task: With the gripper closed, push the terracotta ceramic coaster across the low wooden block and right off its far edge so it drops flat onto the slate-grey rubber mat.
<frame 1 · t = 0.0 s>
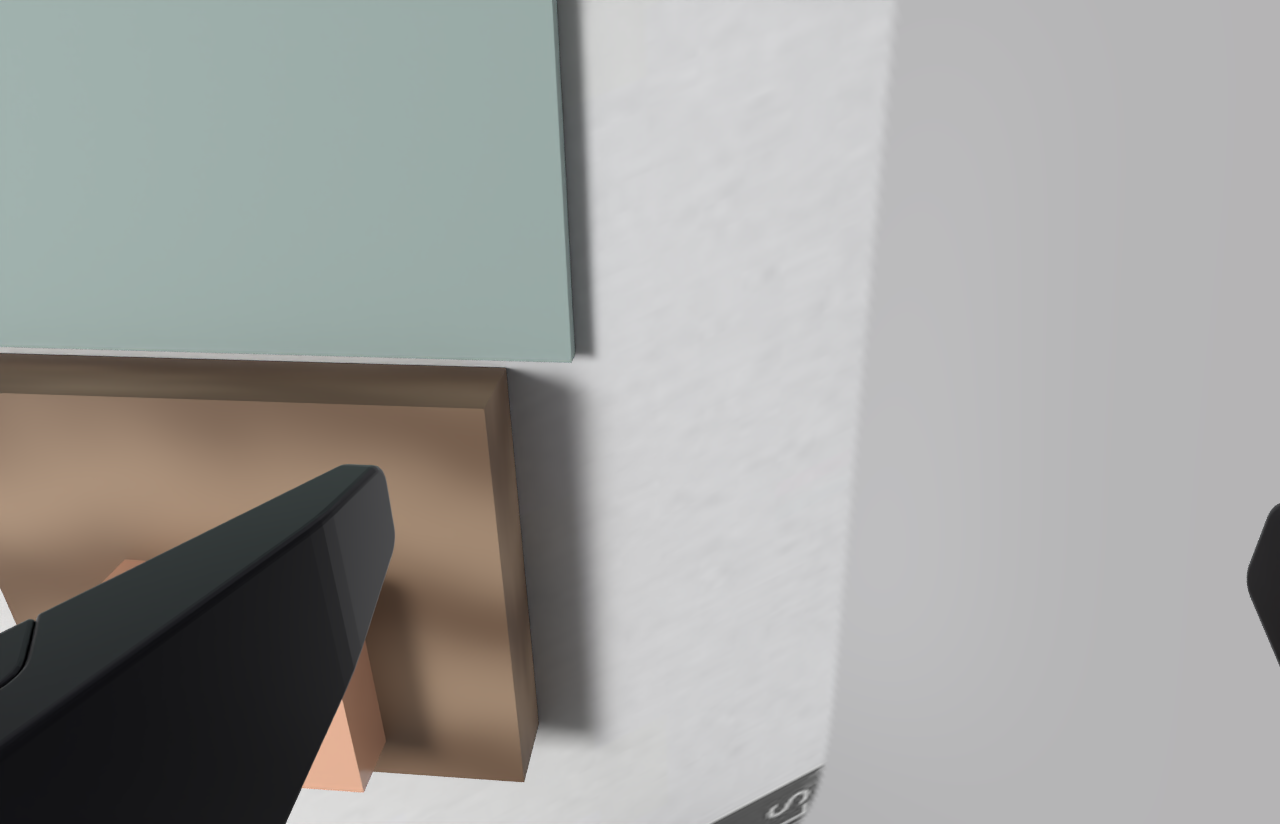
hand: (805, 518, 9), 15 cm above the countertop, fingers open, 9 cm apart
coaster: (261, 654, 28), point 2 cm above the countertop, touching wooden block
wooden block: (284, 554, 29), on the countertop
mat: (158, 46, 22), on the countertop
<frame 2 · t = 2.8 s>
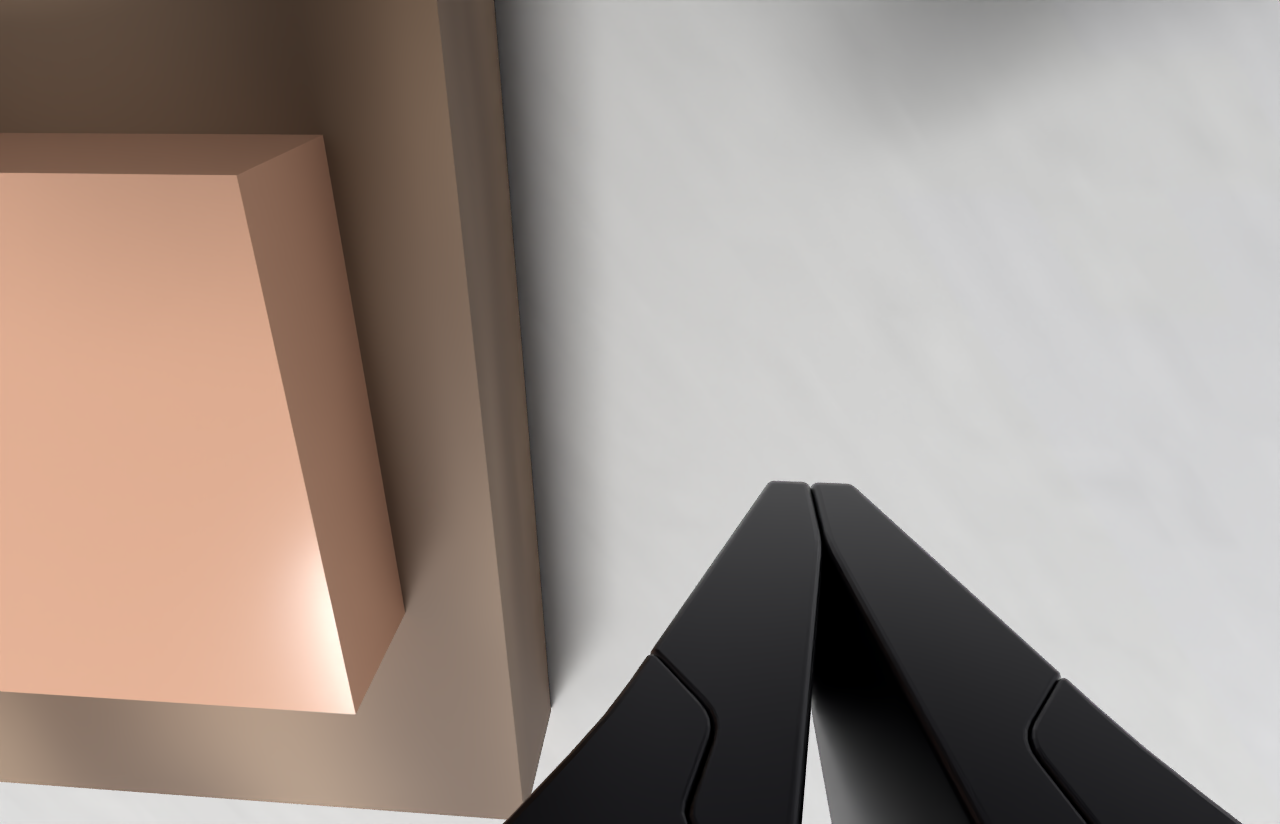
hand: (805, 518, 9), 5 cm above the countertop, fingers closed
coaster: (120, 398, 12), point 2 cm above the countertop, touching wooden block
wooden block: (97, 325, 14), on the countertop
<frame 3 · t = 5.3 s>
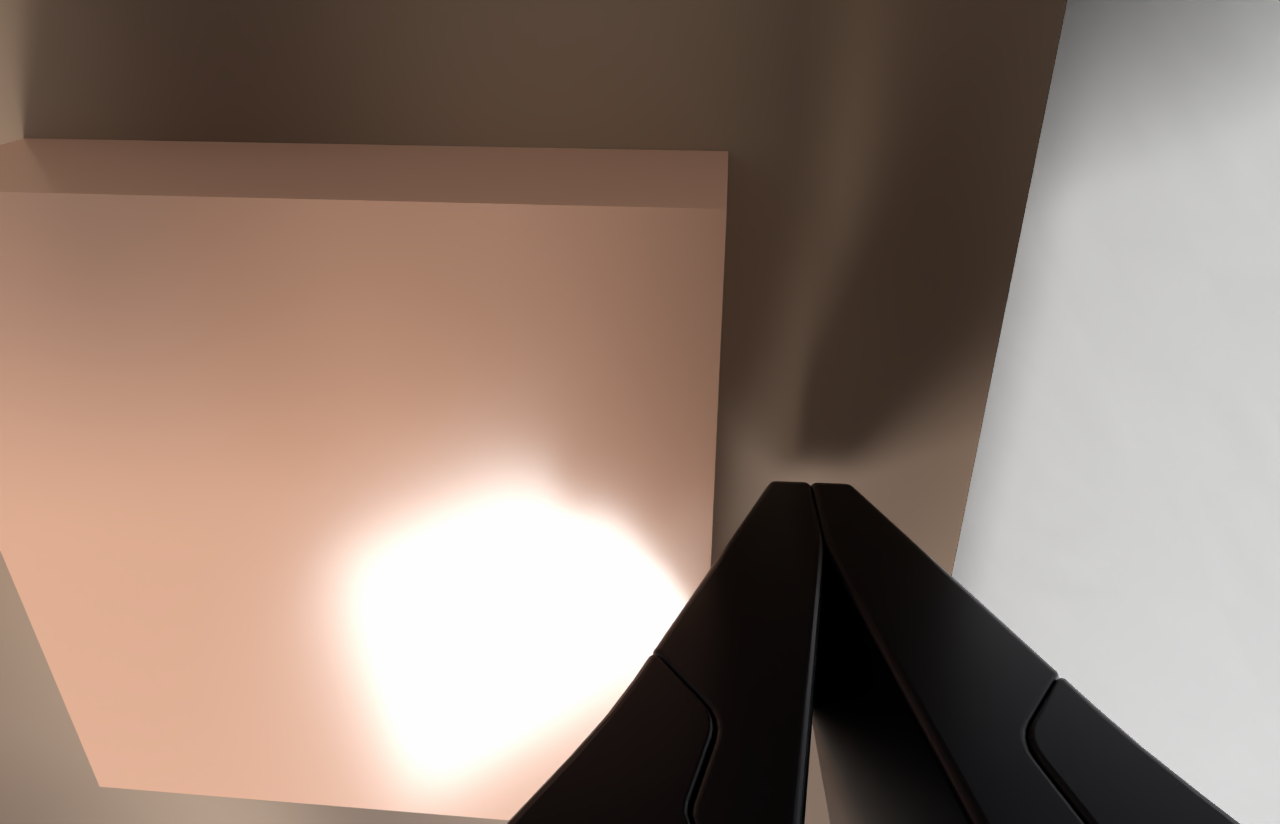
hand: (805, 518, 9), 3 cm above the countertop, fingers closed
coaster: (408, 456, 10), point 3 cm above the countertop, touching gripper
wooden block: (416, 360, 12), on the countertop
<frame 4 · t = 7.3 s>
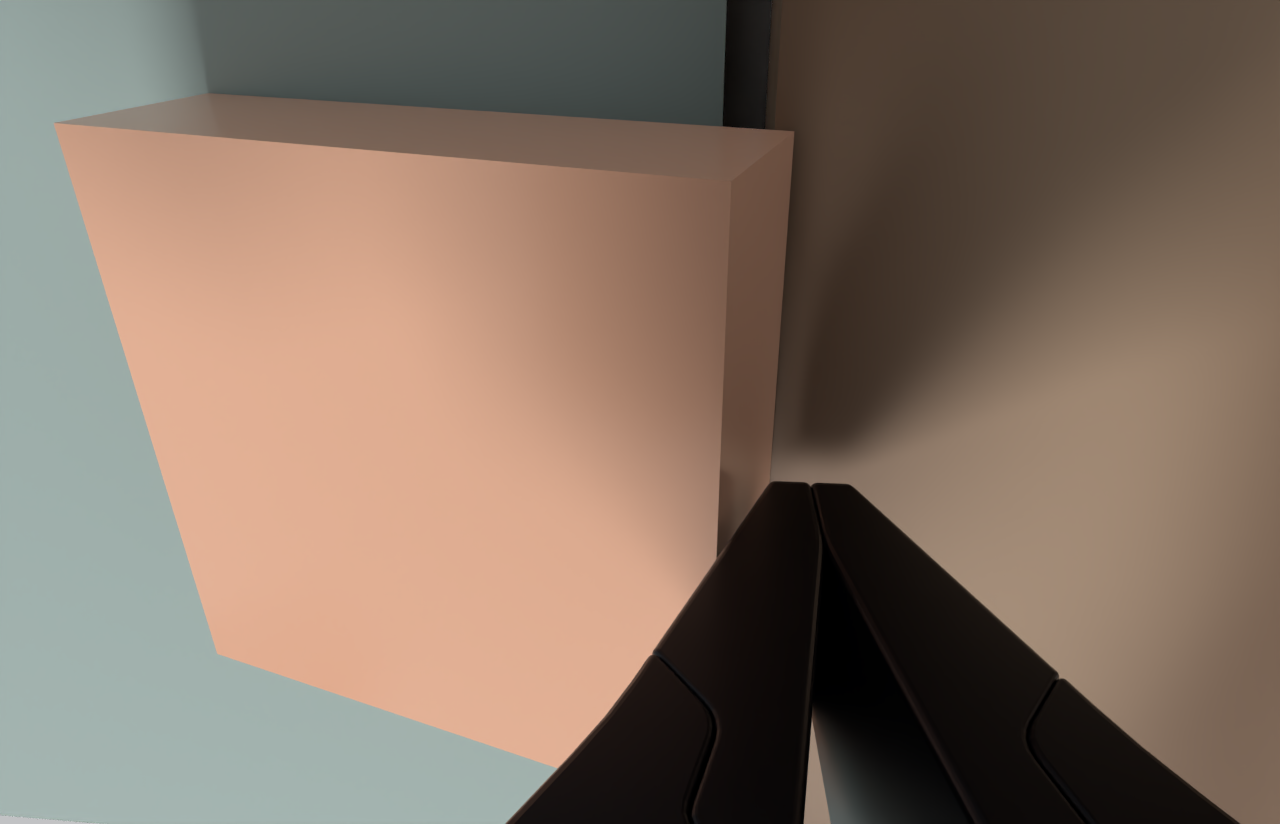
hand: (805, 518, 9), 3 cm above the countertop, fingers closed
coaster: (493, 405, 11), point 2 cm above the countertop, tilted 16°, touching gripper, mat
mat: (160, 348, 13), on the countertop
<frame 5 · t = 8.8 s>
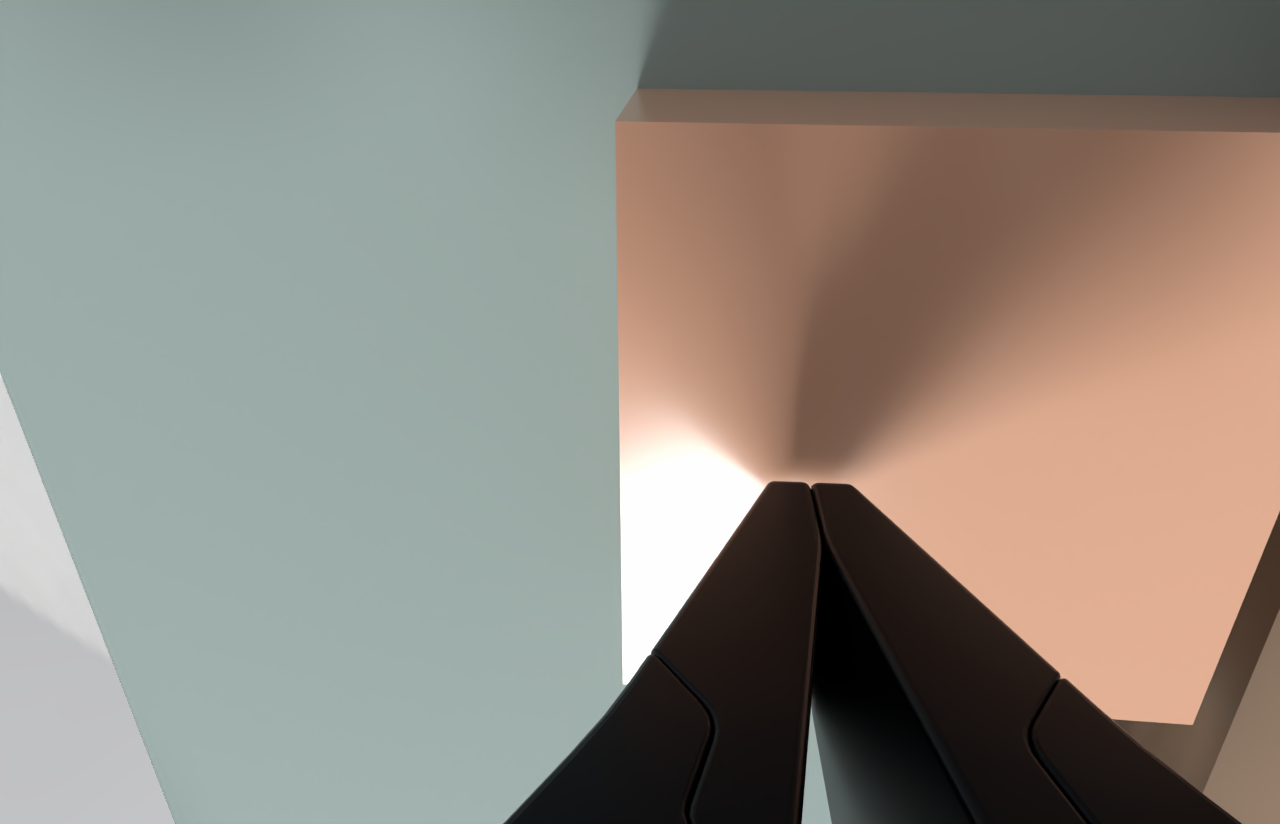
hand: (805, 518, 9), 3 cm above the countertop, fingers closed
coaster: (912, 383, 11), point 1 cm above the countertop, touching mat
mat: (568, 368, 12), on the countertop
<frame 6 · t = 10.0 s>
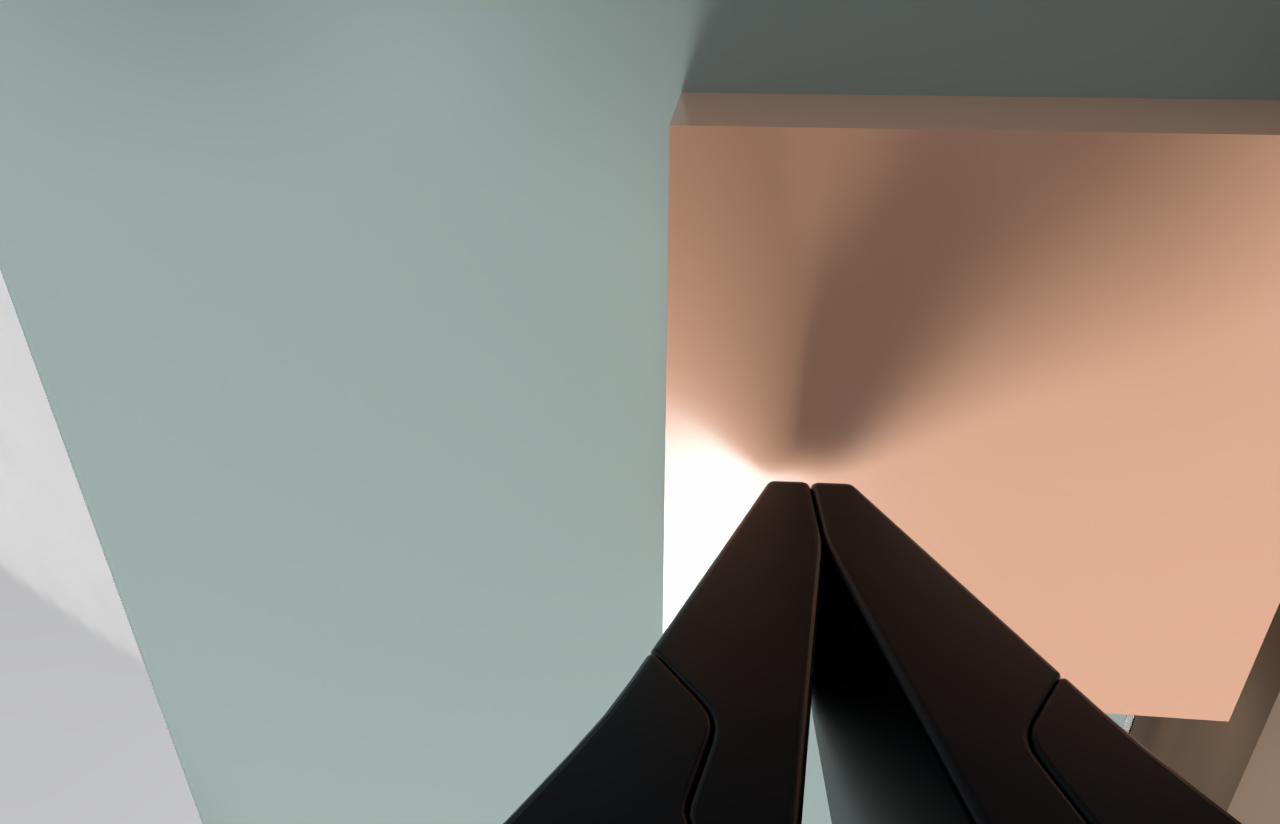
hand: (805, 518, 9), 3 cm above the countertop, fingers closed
coaster: (949, 383, 11), point 1 cm above the countertop, touching mat
mat: (604, 369, 12), on the countertop
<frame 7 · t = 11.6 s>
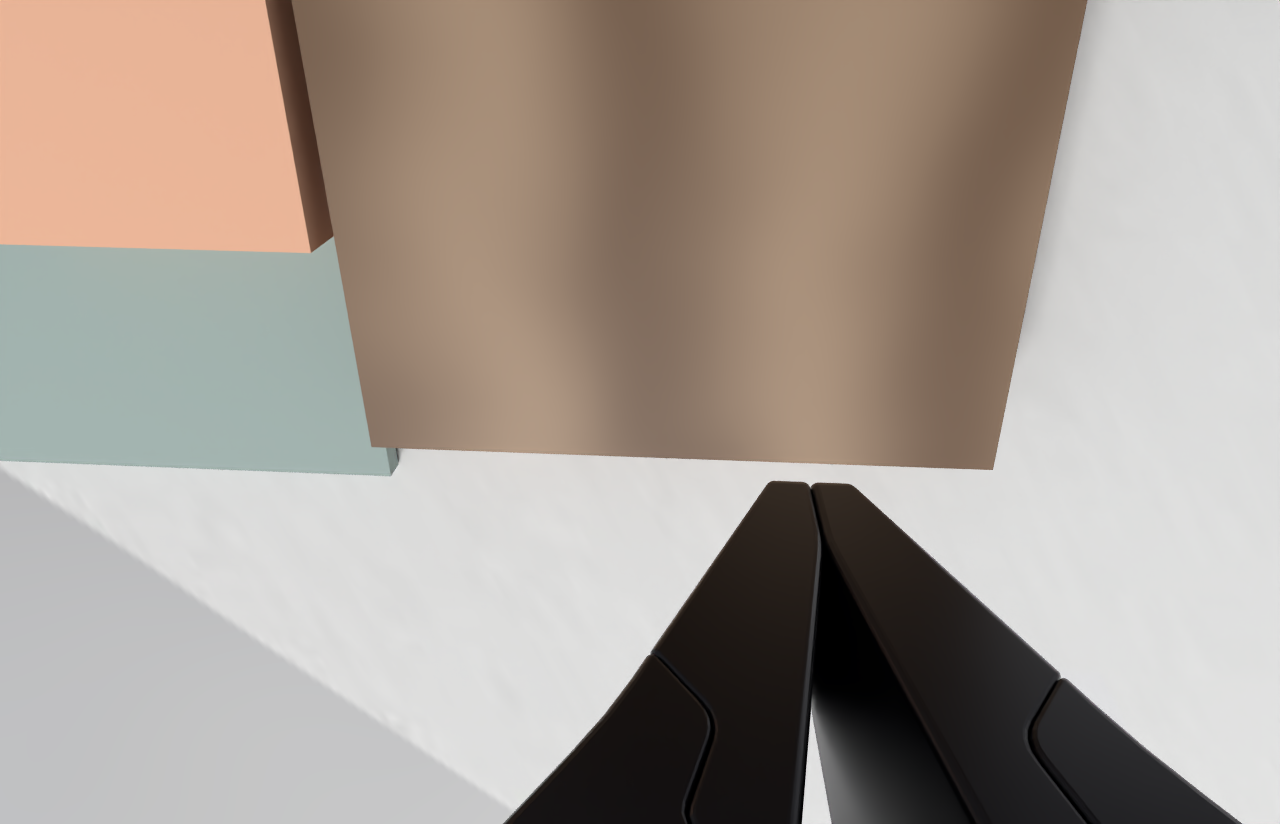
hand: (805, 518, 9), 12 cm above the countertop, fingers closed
coaster: (162, 59, 19), point 1 cm above the countertop, touching mat
wooden block: (681, 65, 19), on the countertop
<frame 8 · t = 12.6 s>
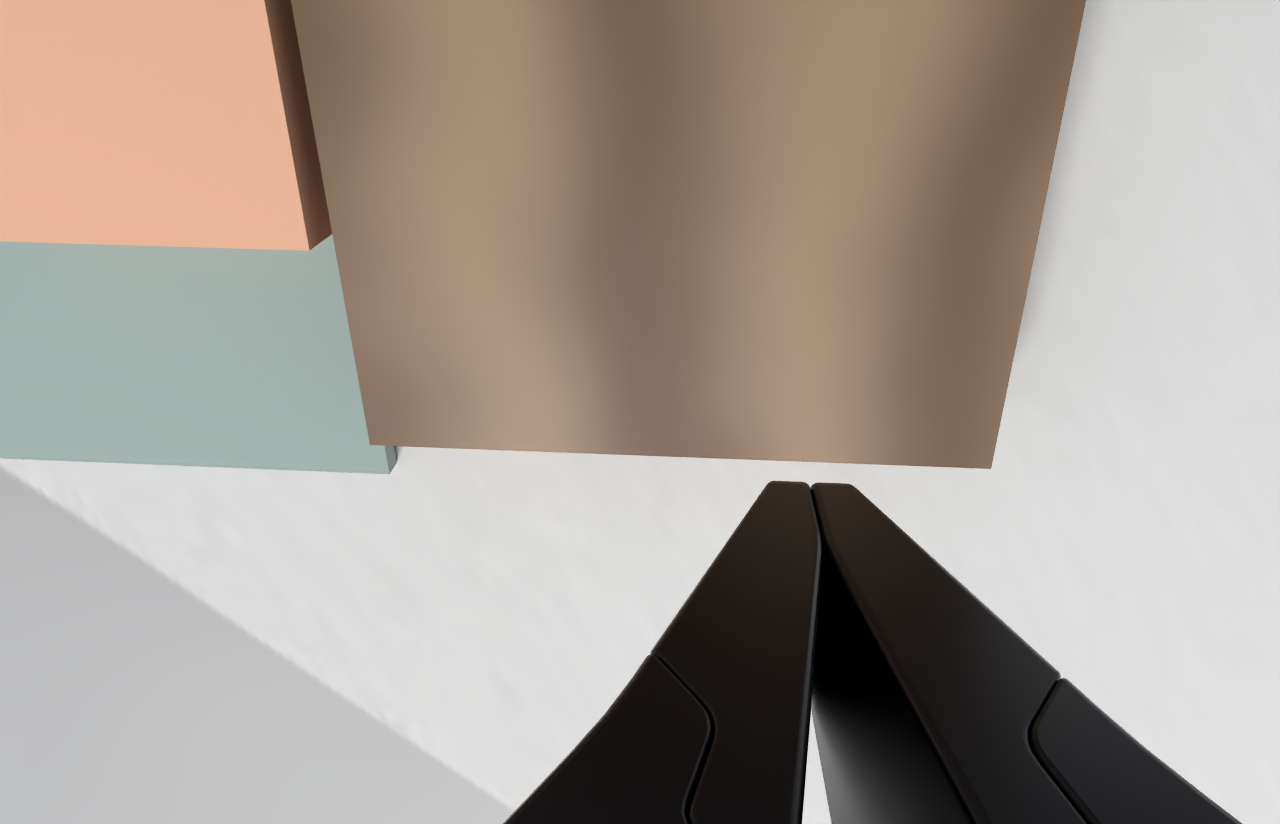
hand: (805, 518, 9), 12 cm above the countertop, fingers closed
coaster: (160, 56, 19), point 1 cm above the countertop, touching mat
wooden block: (680, 64, 19), on the countertop
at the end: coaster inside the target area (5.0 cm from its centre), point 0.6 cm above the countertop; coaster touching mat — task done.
